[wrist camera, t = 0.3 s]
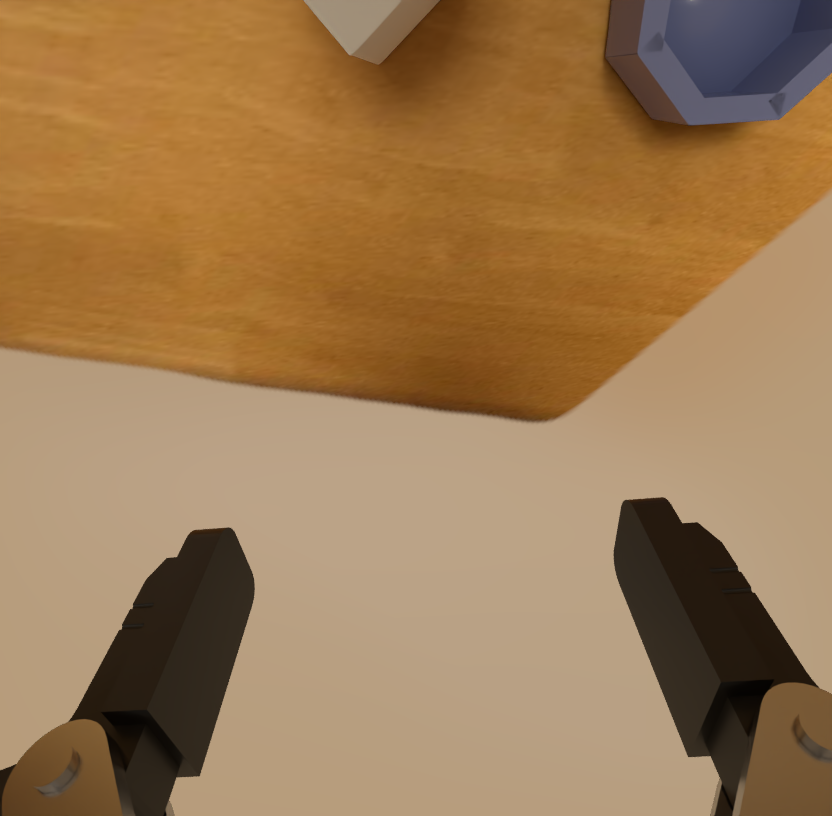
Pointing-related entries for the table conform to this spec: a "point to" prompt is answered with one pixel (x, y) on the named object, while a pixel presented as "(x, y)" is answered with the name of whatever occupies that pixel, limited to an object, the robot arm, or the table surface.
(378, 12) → the milk carton
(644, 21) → the bowl
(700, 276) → the table surface
